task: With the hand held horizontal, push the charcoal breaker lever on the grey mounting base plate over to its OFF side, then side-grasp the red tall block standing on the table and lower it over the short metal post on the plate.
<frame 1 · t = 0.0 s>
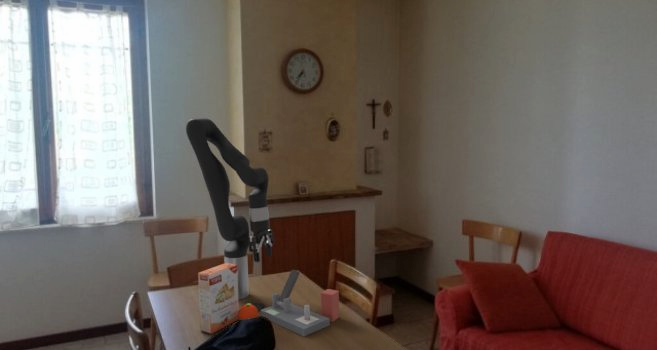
hand: (263, 258, 194), 17 cm above the table, tool pointing down, fingers open, 8 cm apart
cracker box: (220, 326, 174), on the table
breaker lever: (288, 288, 183), point 9 cm above the table, hinge at -35.0°
phone: (248, 313, 185), on the table
grey mounting base plate: (294, 320, 176), on the table
clementine: (249, 323, 176), on the table
red tall block: (330, 318, 178), on the table
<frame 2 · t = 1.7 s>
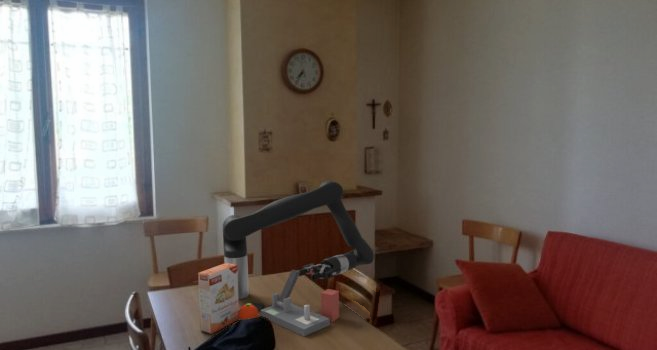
hand: (304, 275, 188), 12 cm above the table, tool horizontal, fingers open, 7 cm apart
nothing on the table moved.
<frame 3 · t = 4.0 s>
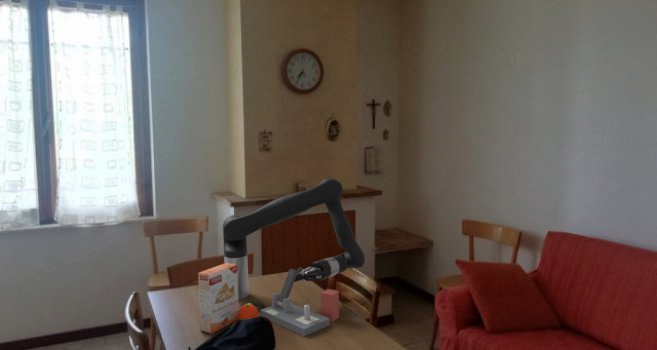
hand: (292, 279, 184), 12 cm above the table, tool horizontal, fingers closed
breaker lever: (287, 287, 182), point 10 cm above the table, hinge at -29.4°, touching gripper
everything else where it was.
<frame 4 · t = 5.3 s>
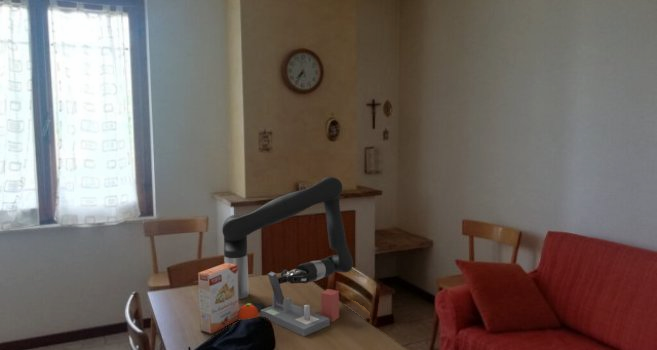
hand: (276, 281, 179), 14 cm above the table, tool horizontal, fingers closed
breaker lever: (277, 290, 179), point 10 cm above the table, hinge at 18.0°, touching gripper
everything else where it was.
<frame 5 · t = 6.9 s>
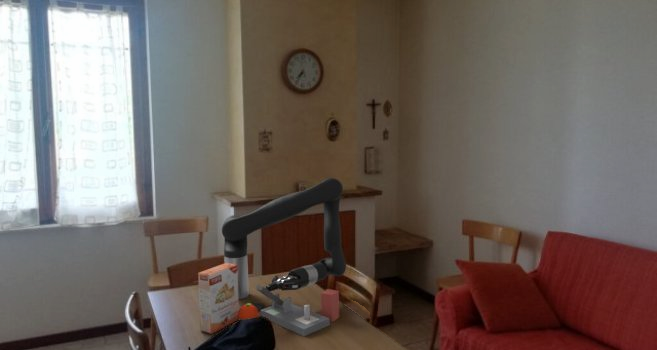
hand: (267, 288, 176), 12 cm above the table, tool horizontal, fingers closed
breaker lever: (271, 296, 177), point 9 cm above the table, hinge at 48.1°, touching gripper
everything else where it was.
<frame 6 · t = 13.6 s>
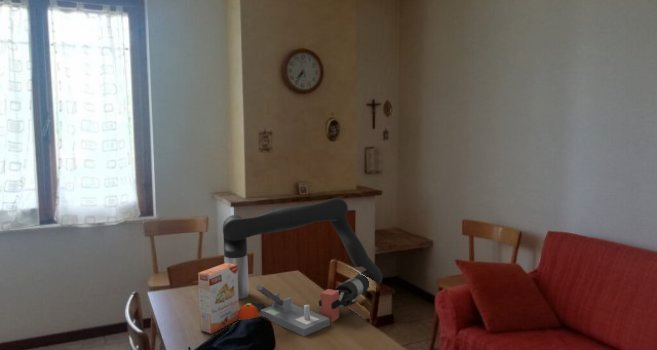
hand: (326, 305, 175), 6 cm above the table, tool horizontal, fingers closed on red tall block, 4 cm apart
breaker lever: (271, 296, 177), point 9 cm above the table, hinge at 48.1°
red tall block: (330, 318, 178), on the table, touching gripper
everything else where it was.
when the fingers open (10 cm above the table, at t = 18.2 s): red tall block drops 1 cm, resting on grey mounting base plate.
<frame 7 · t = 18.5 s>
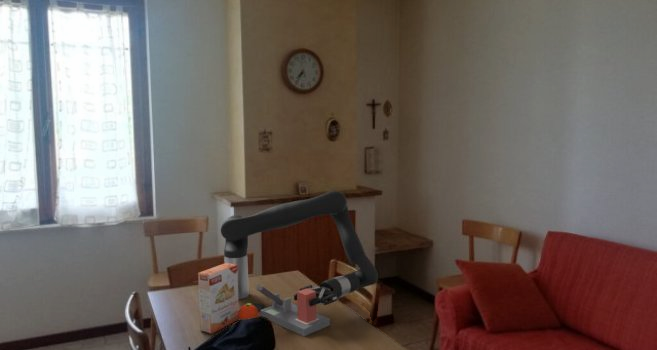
hand: (302, 300, 169), 10 cm above the table, tool horizontal, fingers open, 7 cm apart
red tall block: (307, 319, 171), point 3 cm above the table, touching grey mounting base plate
everything else where it was.
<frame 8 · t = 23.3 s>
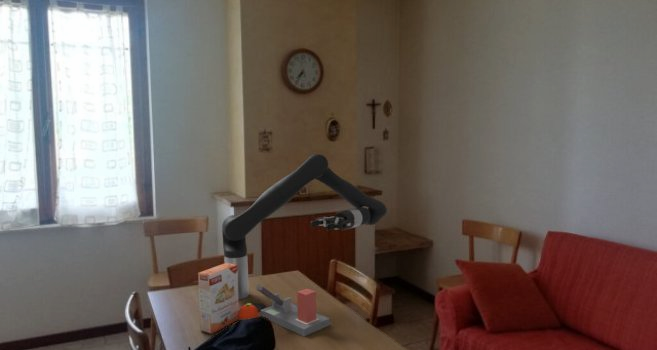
hand: (318, 226, 184), 32 cm above the table, tool horizontal, fingers open, 8 cm apart
nothing on the table moved.
at the end: breaker lever at +48° (first picture: -35°); red tall block 0.1 cm from the target spot on the grey mounting base plate, point 2.6 cm above the grey mounting base plate's base; the gripper is holding nothing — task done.
